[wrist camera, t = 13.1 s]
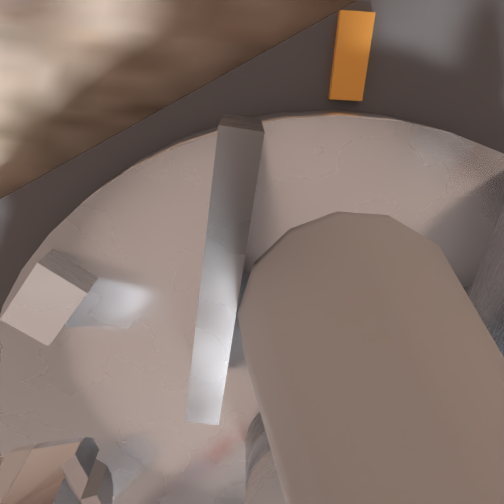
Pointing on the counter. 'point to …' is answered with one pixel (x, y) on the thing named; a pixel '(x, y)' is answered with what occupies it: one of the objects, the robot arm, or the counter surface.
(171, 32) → the counter surface
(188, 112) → the gray square base
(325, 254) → the salt shaker
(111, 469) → the studded metal disc
